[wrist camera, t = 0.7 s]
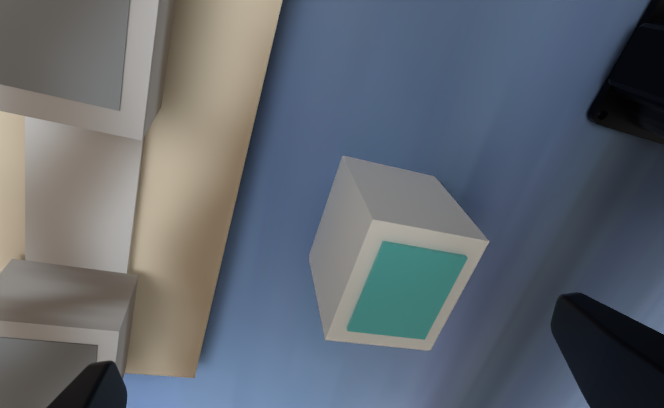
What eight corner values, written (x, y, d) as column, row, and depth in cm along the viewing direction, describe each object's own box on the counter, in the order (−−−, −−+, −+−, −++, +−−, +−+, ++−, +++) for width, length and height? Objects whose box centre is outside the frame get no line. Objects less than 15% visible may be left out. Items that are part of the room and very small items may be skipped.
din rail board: (294, -66, 16) (313, -76, 12) (197, 356, 26) (185, 448, 21) (-103, -212, 13) (-308, -310, 8) (-48, 336, 22) (-128, 440, 18)
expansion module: (434, 175, 22) (492, 244, 17) (392, 269, 25) (431, 354, 20) (342, 154, 21) (374, 222, 16) (308, 256, 24) (325, 343, 18)
